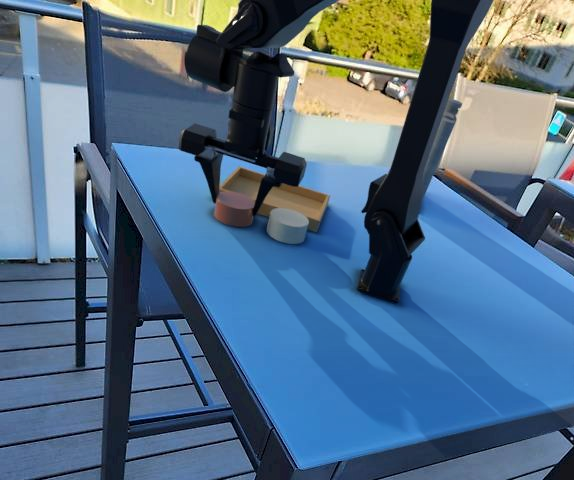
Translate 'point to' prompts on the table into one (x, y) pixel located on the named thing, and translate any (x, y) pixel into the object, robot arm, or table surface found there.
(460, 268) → the table surface
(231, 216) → the reddish-brown short cylinder
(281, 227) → the white short cylinder
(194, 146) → the robot arm
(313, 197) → the serving tray
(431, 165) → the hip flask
